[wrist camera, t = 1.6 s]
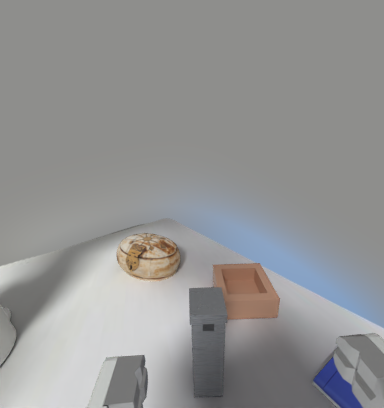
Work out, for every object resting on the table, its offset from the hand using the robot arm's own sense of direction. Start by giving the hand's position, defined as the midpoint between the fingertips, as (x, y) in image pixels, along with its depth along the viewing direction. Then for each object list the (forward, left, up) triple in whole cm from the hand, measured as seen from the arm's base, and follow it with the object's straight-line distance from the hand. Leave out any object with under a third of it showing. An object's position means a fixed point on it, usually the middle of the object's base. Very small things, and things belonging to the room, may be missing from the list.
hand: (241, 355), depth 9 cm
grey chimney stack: (0, +12, -22) cm, 24 cm away
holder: (+8, +26, -22) cm, 34 cm away
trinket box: (-12, +37, -22) cm, 44 cm away
